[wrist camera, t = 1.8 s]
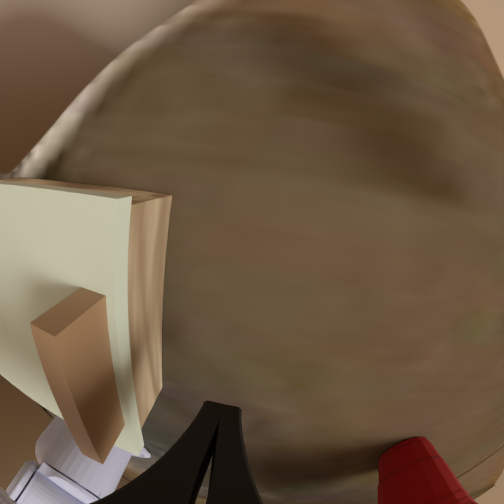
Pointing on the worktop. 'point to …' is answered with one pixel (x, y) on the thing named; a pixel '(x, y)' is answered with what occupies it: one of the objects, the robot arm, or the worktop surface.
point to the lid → (69, 310)
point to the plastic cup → (418, 476)
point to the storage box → (140, 284)
